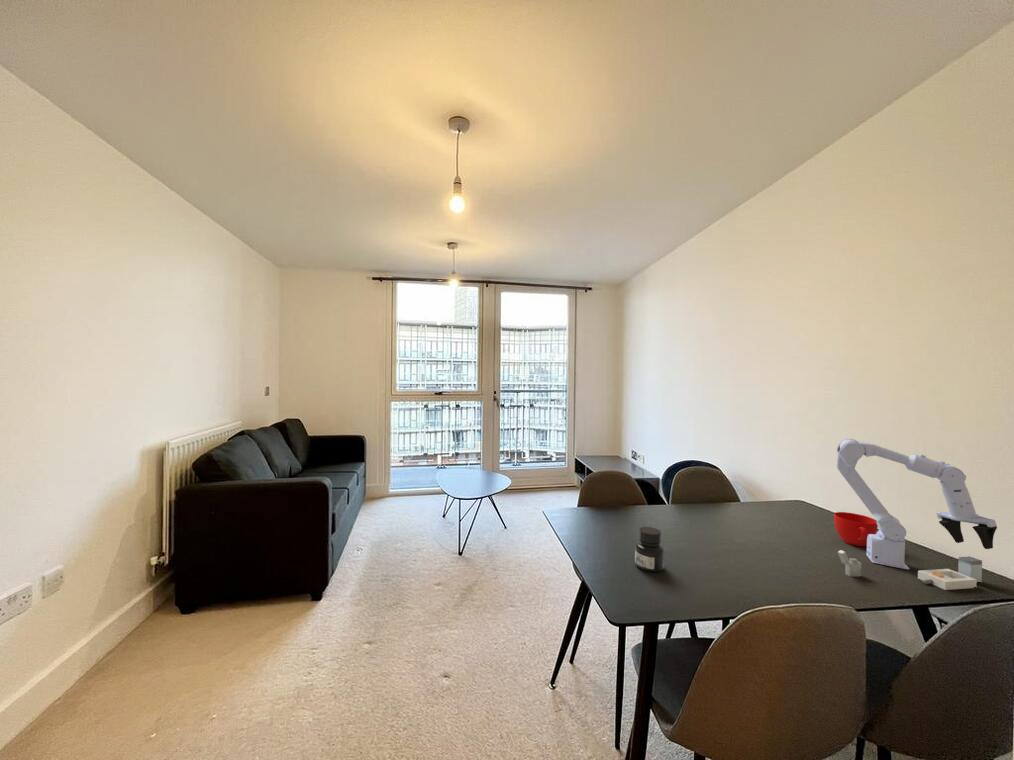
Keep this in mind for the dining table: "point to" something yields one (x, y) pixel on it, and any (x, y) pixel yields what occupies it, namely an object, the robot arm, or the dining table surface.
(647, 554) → the ink bottle
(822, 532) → the dining table surface
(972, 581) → the white rectangular frame
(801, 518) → the dining table surface
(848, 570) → the lighter
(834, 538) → the dining table surface
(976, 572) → the plug
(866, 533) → the ceramic cup
